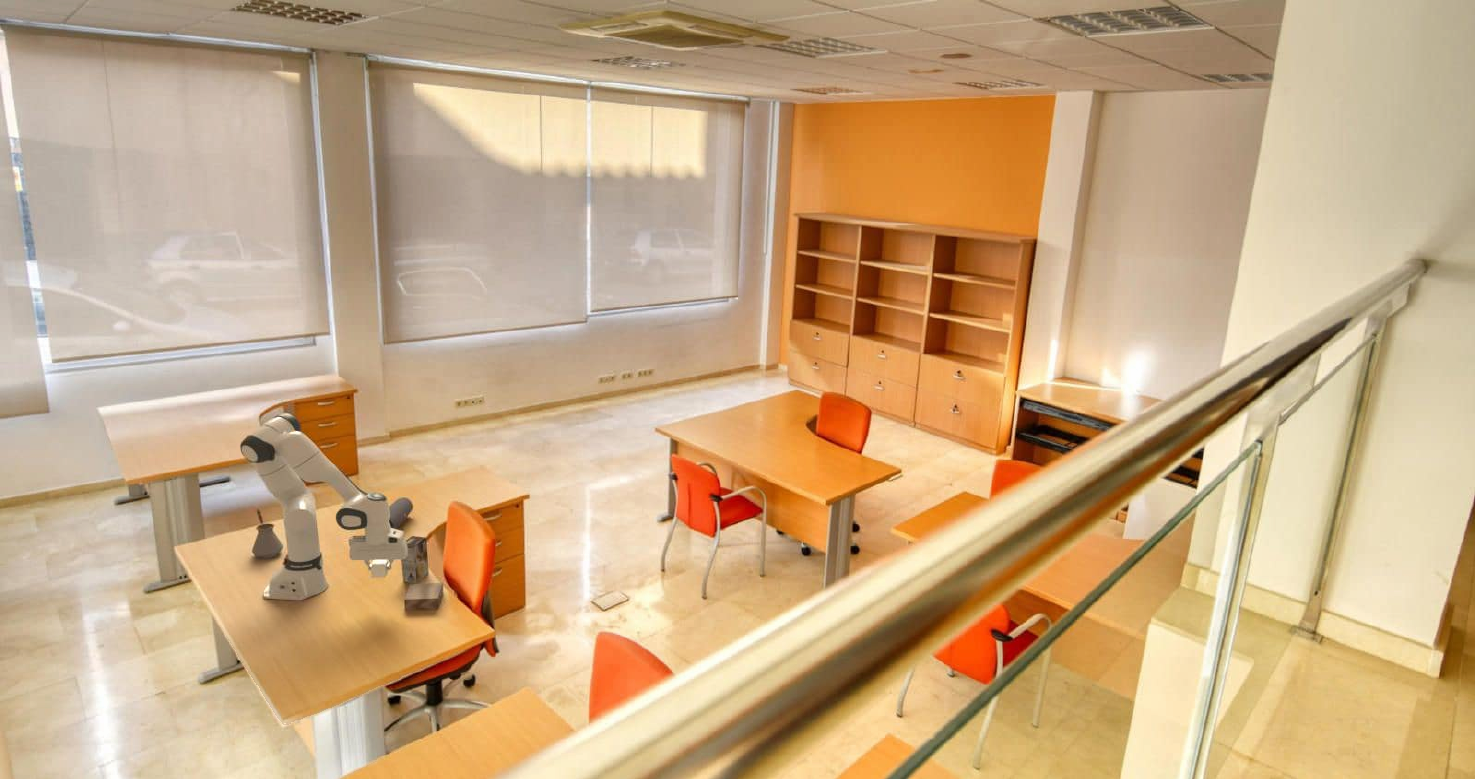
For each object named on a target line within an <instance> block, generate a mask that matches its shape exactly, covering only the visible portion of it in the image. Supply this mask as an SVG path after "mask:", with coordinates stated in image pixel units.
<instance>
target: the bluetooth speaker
mask: <svg viewBox="0 0 1475 779" xmlns="http://www.w3.org/2000/svg"><path fill="white" fill-rule="evenodd" d="M413 508H414V504H413V502H412V500H410V499H409V498H407V497H405V496H404V497H403V496H402V497H399V498H398V499H396V500H394V502H393V503H391V504H389V510H390V518H389V524H390V528H393V529H397V530H398V529H399V527H400V526H402V524H403V523H404V522H405V520H406V519H407V518H408V517H409V516H410V514H411V513H412V511H413Z"/></svg>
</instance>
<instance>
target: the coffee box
mask: <svg viewBox="0 0 1475 779" xmlns="http://www.w3.org/2000/svg"><path fill="white" fill-rule="evenodd" d="M405 540H406V542H407V547H408V555H407V557H406V558H405V559H400V562H401V564H400V565H401V572H402V573H401V575H402V581H403V582H405V583H410V584H419V582H420V581H421V580H422V579H423V578H425V576H427V575H428V574H429V560H428V559H429V558H428V547H427V546H428V544H427V537H423V536H415V535H414V536H413V535H412V536H410V537H409V538H408V539H405Z"/></svg>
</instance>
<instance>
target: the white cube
mask: <svg viewBox="0 0 1475 779" xmlns="http://www.w3.org/2000/svg"><path fill="white" fill-rule="evenodd" d="M387 564H389V560H372V562H371V570H370V575H371V576H370V577H371V578H373V579H375V578H377V579H378V578H382V579H383V578H386V577H387V575H388V573H389V570H386V565H387Z"/></svg>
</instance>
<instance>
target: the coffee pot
mask: <svg viewBox="0 0 1475 779" xmlns="http://www.w3.org/2000/svg"><path fill="white" fill-rule="evenodd" d="M261 512H262V510H260V509H259V508H257V509H256V510H255V513H256V515H257V516H258V520H259V522H260V524H259V525H257V526H256V527H255V529H256V530H257V532H258V533H257V535H256V538H255V541H254V543H253V546H252V549H251V553H252V554H253V555H254V556H256V557H257V558H259V559H263V560H267V559H272V558H275V557H277V556H278V555H279V554H280V553H281V551H283V548H284V544H283V543H282V541H281V540H280V539H279V538H278V536H277V535H276V533H275V531H274V530H273V529H274V527H275V524H274V523H267V522H266V523H264V520H263V517H262V513H261Z"/></svg>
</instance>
